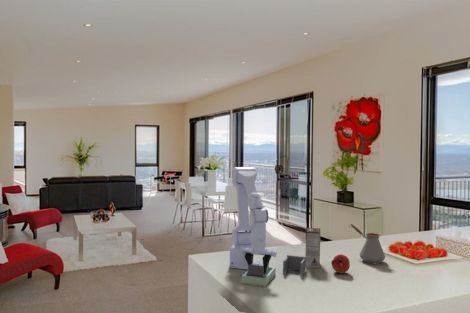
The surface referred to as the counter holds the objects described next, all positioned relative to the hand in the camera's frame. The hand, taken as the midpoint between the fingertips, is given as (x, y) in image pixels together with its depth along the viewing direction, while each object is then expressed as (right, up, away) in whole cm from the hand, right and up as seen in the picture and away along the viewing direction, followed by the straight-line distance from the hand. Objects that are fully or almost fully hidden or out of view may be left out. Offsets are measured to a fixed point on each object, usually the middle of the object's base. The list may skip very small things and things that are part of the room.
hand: (257, 272), depth 163 cm
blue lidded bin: (+1, -2, +2) cm, 3 cm away
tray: (+1, -3, +2) cm, 4 cm away
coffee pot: (+54, -3, +35) cm, 64 cm away
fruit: (+36, -4, +12) cm, 38 cm away
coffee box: (+26, -3, +23) cm, 35 cm away
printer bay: (+16, -3, +12) cm, 20 cm away
